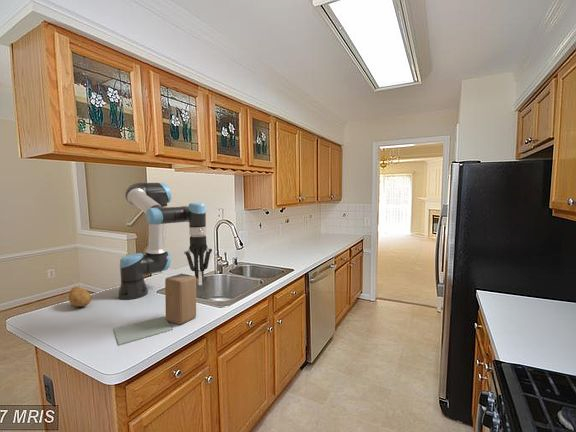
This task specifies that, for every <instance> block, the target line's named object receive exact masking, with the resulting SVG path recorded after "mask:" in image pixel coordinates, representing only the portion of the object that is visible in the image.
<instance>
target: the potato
mask: <svg viewBox="0 0 576 432" xmlns="http://www.w3.org/2000/svg"><path fill="white" fill-rule="evenodd" d="M68 302H69V303H70V305H71V306H73V307H76V308H79V307H86V306H87V305H89V304H90V303H91V302H92V296H91V294H90V293H89V291H87V290H86V289H84V288H83V287H81V286H73V287H72V288H71V289H70V291H69V293H68Z"/></svg>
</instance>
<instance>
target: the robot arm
mask: <svg viewBox="0 0 576 432" xmlns="http://www.w3.org/2000/svg"><path fill="white" fill-rule="evenodd" d="M124 197H125V200H126V201H127V202H128V203H129V204H130V205H132V206H136V207H137V208H138V209H140V211H142V212H143V213H144V214H145V218H146V219H145V220H146V222H147V224H148V248H147V249H145V254H143V253H142V252H135V253H130V254H127V255H124V256H122V257H121V258H119V271H120V284H119V285H120V286H119V290H118V293H117V298H118V299H120V300H134V299H138V298H143V297H145V296H147V295H148V294H149V289H148V287H147V284H146V282H145V275H151V274H156V273H162V272H165V271H167V270H168V269H169V268H170V267H171V262H172V258H171V253H170V252H169V251H168V249H167V248H166V247H165V224H176V223H188V226H189V227H188V228H189V230H188V231H189V232H188V233H189V247H188V249H187V250H186V251H184V255H185V256H186V259H187V262H188V265H189V269H190V271H192V272H194V276H196V285H198V286H202V285H203V278H204V275H205V274H204V273H205V270H207V269H208V267H209V264H210V263H209V262H210V257H211V253H212V251H213V249H212V248H210V247H208V244H207V236H206V235H207V225H206V224H207V223H206V222H207V221H206V219H207V215H206V212H207V209H206V204H205V203H204V202H190V203H189V204H188V206H187V205H183V206H182V205H181V206H169V207H168V204H169V203H170V202H171V200H172V192H171V188H170V187H169V186H168V184H167V183H165V182H163V183H162V182H135V183H133V184H131V185H129V186H128V187H127V189H126V191H125V193H124ZM191 254H192V255H193V259H192V256H191Z"/></svg>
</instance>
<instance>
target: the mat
mask: <svg viewBox="0 0 576 432" xmlns="http://www.w3.org/2000/svg"><path fill="white" fill-rule="evenodd" d="M170 330H171V331H173V330H174V329H173V328H172V327H171V325H170V324H169V321H167V320H166V317H164V316H159V317H155V318H151V319H148V320H143V321H140V322H135V323H132V324H131V323H130V324H128V325H125V326H120V327H115V328H113V331H114V334H115V337H116V341H117V344H118V346H122V345H125V344H128V343H129V344H130V343H132V342H136V341H139V340H142V339H146V338H149V337H153V335H154V336H157V335H160V333H161V334H164V333H168V332H171V331H170ZM167 331H168V332H167ZM163 332H164V333H163Z"/></svg>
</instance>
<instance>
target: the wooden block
mask: <svg viewBox="0 0 576 432" xmlns="http://www.w3.org/2000/svg"><path fill="white" fill-rule="evenodd" d="M164 281H165V283H164V285H165V287H164V288H165V289H164V290H165V298H164V299H165V301H164V302H165V320H166V321H167V322H170V323H174V324H177V325H182V324H185V323H186V322H189V321H191V320H193V319H195V318H197V279H196V276H195V275H192V274H187V273H179V274H176V275H172V276H168V277H166V278H165V280H164Z"/></svg>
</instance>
